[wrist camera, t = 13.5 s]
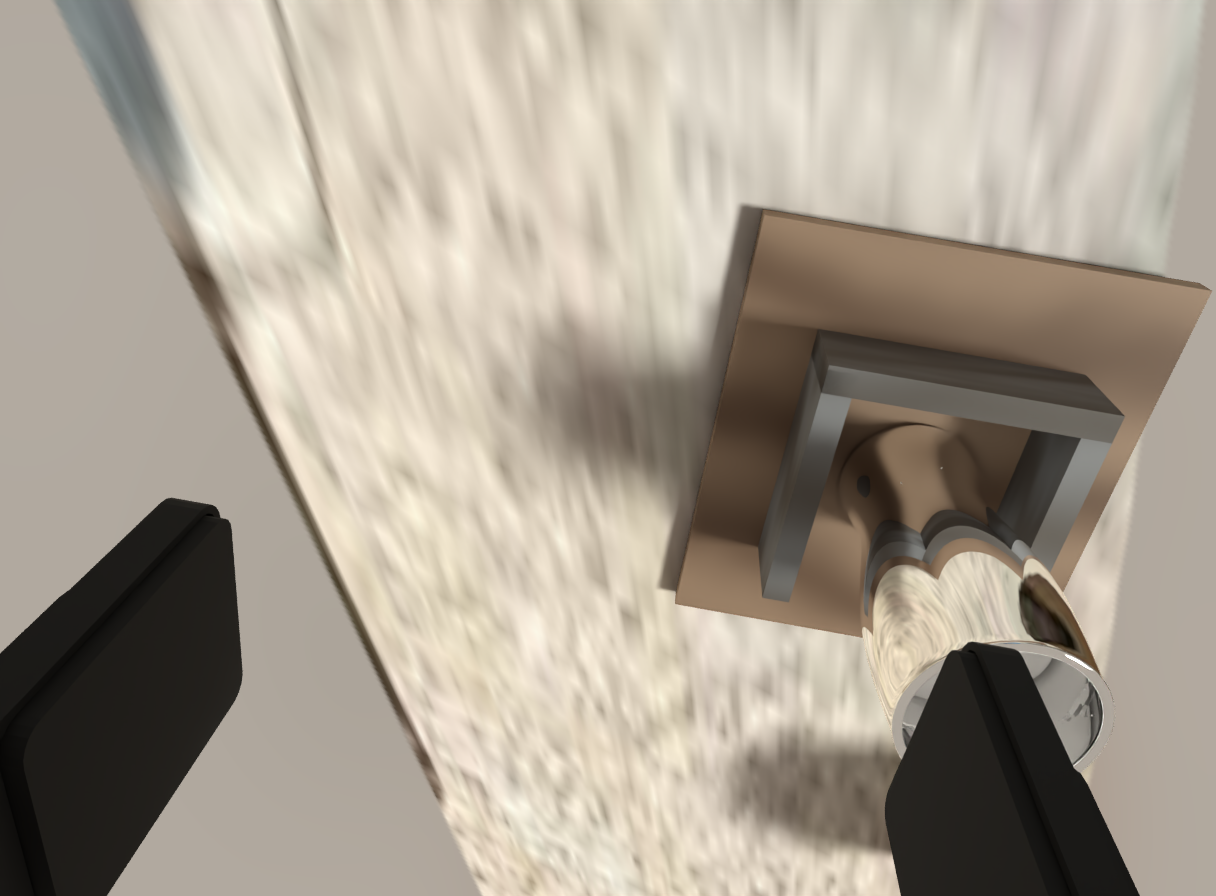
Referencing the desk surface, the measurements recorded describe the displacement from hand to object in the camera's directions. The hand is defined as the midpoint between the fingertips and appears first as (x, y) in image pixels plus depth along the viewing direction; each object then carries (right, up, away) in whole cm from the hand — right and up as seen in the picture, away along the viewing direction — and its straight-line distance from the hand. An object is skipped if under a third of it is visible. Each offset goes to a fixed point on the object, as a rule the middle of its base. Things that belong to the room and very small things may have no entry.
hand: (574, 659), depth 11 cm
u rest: (+14, +2, +29) cm, 33 cm away
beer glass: (+14, +1, +29) cm, 32 cm away
